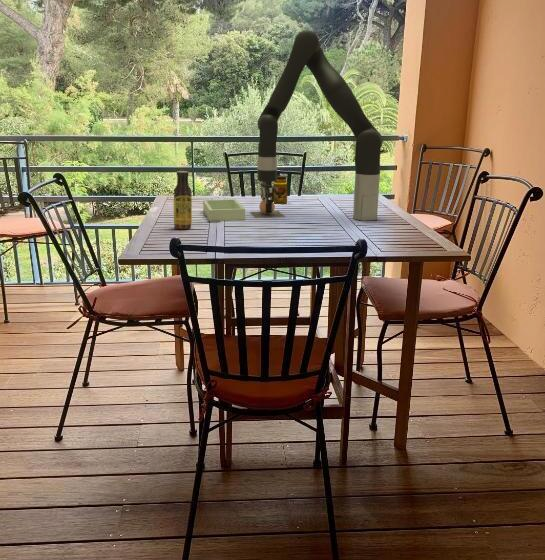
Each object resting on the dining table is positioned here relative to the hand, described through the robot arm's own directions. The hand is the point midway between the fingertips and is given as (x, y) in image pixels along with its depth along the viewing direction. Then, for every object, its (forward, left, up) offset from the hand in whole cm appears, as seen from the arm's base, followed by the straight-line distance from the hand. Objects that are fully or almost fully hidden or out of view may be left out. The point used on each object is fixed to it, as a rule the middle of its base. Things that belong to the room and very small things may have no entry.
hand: (266, 211), depth 227 cm
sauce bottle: (-17, +34, -2) cm, 38 cm away
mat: (0, 0, -2) cm, 2 cm away
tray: (+2, +17, -2) cm, 17 cm away
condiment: (+25, -11, -2) cm, 27 cm away
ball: (0, 0, -1) cm, 1 cm away
